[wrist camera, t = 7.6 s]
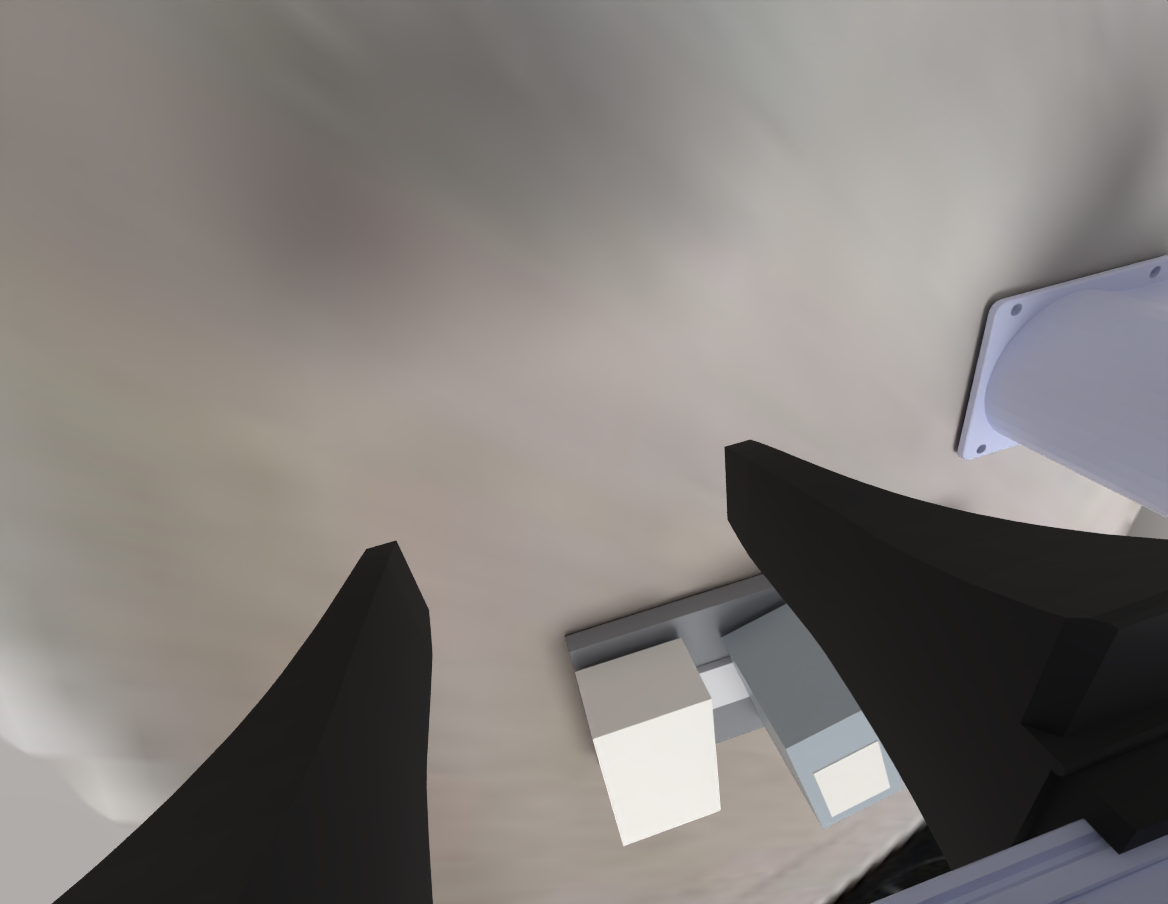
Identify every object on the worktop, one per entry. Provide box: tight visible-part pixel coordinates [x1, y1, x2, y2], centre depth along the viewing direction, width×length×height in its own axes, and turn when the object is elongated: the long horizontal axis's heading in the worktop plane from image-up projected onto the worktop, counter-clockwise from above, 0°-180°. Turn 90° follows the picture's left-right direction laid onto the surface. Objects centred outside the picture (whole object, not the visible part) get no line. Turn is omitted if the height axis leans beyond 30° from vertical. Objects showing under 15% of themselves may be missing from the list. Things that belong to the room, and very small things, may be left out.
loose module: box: [721, 604, 903, 829], centre depth 27 cm, size 4×9×6 cm, turn 25°
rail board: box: [565, 574, 787, 846], centre depth 29 cm, size 22×12×5 cm, turn 100°
